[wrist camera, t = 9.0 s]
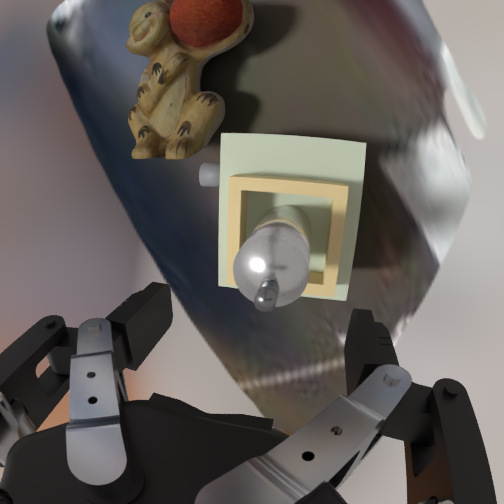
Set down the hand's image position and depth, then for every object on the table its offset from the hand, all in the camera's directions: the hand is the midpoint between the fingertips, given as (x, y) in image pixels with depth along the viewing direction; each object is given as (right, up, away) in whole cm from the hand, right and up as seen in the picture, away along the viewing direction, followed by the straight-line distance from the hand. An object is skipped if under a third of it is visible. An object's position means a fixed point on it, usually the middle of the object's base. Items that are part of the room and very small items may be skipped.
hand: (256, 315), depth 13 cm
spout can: (+3, +4, +13) cm, 14 cm away
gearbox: (+3, +8, +20) cm, 22 cm away
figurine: (-6, +23, +18) cm, 30 cm away
